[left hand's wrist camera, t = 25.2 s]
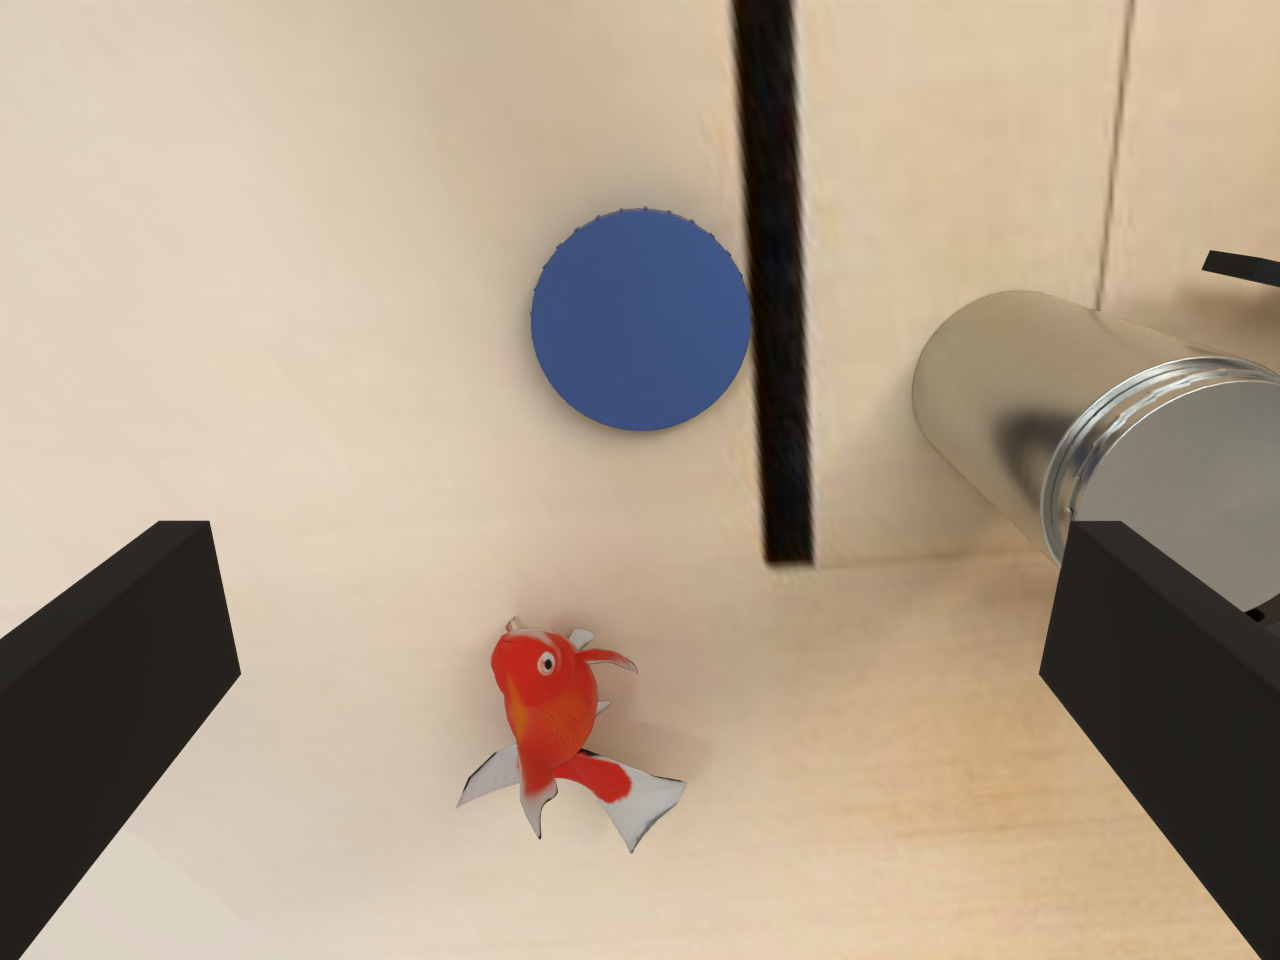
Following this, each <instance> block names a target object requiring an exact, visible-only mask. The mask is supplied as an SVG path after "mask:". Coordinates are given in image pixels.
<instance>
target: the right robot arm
mask: <svg viewBox="0 0 1280 960" xmlns="http://www.w3.org/2000/svg"><path fill="white" fill-rule="evenodd" d="M1202 270H1204V271H1209V272H1213V273H1218V274H1222V275H1227V276H1231V277H1236V278H1240V279H1245V280H1249V281H1254V282H1258V283H1263V284H1267V285H1272V286H1276V287H1280V262H1276V261H1272V260H1267V259H1263V258H1258V257H1251V256H1245V255H1238V254H1232V253H1225V252H1219V251H1212V250H1210V252H1209V254H1208V256H1207V258H1206V261H1205V263H1204V265H1203V267H1202ZM1244 613H1245V614H1247V615H1248V616H1249V617H1251V618H1252V619H1253V620H1255V621H1256V622H1257V623H1259V624H1260V625H1261V626H1263V627H1264V628H1265V629H1267V630H1268V631H1269V632H1271V633H1272V634H1273V635H1275V636H1276V637H1277V638H1279V639H1280V593H1279V594H1278V595H1276V596H1275V597H1273V598H1272V599H1270V600H1268V601H1266V602H1264V603H1263V604H1261V605H1259V606H1257V607H1255V608H1253V609H1250V610H1248V611H1246V612H1244Z"/></svg>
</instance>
